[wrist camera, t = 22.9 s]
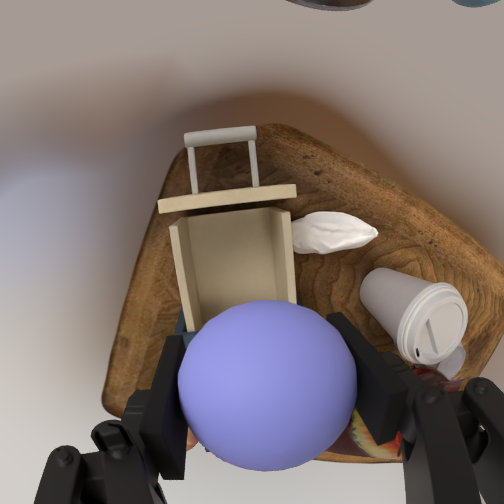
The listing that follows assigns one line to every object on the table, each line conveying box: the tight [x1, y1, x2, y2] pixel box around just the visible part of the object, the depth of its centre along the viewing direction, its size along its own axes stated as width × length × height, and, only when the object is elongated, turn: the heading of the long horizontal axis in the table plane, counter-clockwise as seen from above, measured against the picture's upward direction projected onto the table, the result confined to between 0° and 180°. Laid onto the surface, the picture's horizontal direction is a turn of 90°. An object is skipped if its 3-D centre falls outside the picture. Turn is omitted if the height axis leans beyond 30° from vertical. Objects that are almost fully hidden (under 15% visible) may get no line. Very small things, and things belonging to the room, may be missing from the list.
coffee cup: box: [360, 268, 468, 365], centre depth 33 cm, size 10×10×15 cm
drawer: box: [158, 126, 297, 332], centre depth 32 cm, size 23×12×9 cm, turn 6°
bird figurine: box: [291, 212, 378, 254], centre depth 35 cm, size 5×7×10 cm
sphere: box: [178, 300, 357, 471], centre depth 11 cm, size 7×7×7 cm
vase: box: [326, 366, 475, 459], centre depth 31 cm, size 11×11×26 cm
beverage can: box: [393, 340, 466, 380], centre depth 37 cm, size 7×7×12 cm
